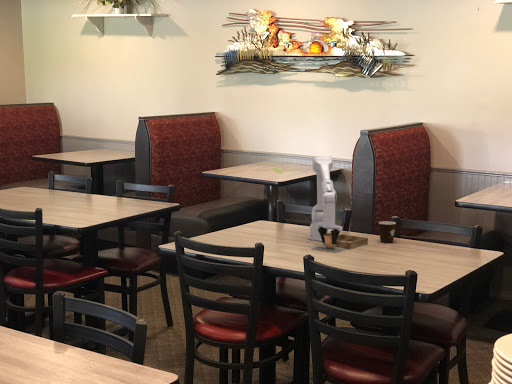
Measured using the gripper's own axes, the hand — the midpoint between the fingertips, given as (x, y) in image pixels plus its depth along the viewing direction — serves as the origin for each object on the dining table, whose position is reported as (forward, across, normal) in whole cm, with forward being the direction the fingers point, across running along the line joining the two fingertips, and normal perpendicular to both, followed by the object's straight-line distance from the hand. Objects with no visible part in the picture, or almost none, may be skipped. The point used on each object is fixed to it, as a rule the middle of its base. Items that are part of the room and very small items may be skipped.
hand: (329, 243), depth 334 cm
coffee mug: (+3, +14, +34) cm, 36 cm away
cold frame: (+3, 0, +14) cm, 15 cm away
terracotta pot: (+2, 0, +1) cm, 2 cm away
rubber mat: (+3, 0, 0) cm, 3 cm away
